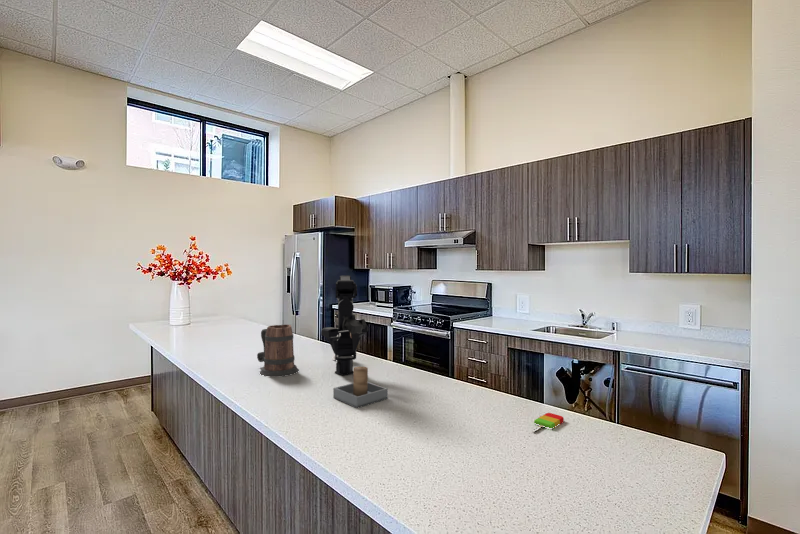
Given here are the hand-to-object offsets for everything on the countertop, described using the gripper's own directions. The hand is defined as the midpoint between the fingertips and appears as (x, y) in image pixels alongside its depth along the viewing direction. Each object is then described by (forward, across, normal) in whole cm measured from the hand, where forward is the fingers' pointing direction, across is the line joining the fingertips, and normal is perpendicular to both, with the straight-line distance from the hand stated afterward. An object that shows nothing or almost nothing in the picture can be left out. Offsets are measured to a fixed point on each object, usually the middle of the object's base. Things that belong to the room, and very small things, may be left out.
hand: (345, 352), depth 157 cm
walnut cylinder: (+12, -5, -16) cm, 21 cm away
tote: (+13, -5, -16) cm, 21 cm away
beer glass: (+13, +22, +36) cm, 44 cm away
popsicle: (+14, +20, -72) cm, 76 cm away
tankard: (+13, -10, +39) cm, 42 cm away
